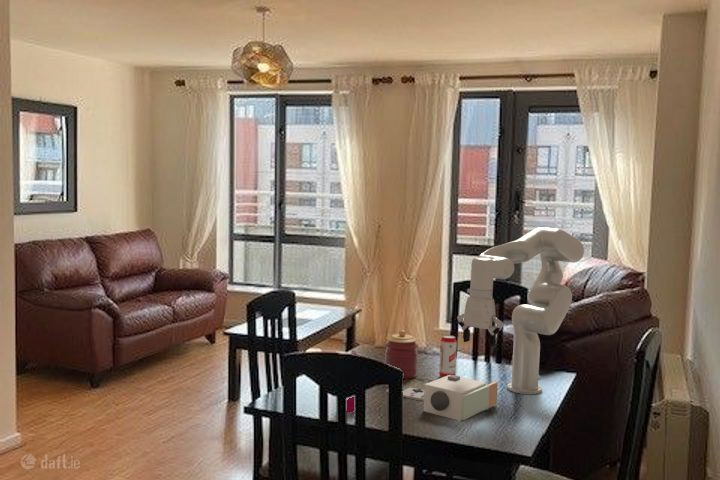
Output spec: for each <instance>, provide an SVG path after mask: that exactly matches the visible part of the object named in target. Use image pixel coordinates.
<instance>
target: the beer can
mask: <svg viewBox="0 0 720 480" xmlns="http://www.w3.org/2000/svg"><path fill="white" fill-rule="evenodd" d="M456 339H457V338H456V336H455V335H451V334H450V335H448V334H444V335H442V336H441V339H440V344H439V345H440V346H439V347H440V348H439V350H440V351H439V367H438V368H439V371H438V375H439V376H440V378H443V377H445V376H448V375H456V368H457V367H456V366H457V365H456V364H457V340H456Z"/></svg>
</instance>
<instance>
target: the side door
mask: <svg viewBox="0 0 720 480" xmlns="http://www.w3.org/2000/svg"><path fill="white" fill-rule="evenodd" d="M498 386H499V383H498V381H493V382H491V383H488V384H486V386H484V387H481V388H479V389H477V390H474V391H472V392H470V393H468V394H465V395H463V396H462V410H461V419H462V421H465V420H467V419H469V418H471V417H473V416H475V415H477V414H479V413H481V412H483V411H485V410H487V409H489V408H492V407H494V406H495V405H497V404H498Z"/></svg>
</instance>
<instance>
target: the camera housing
mask: <svg viewBox="0 0 720 480" xmlns="http://www.w3.org/2000/svg"><path fill="white" fill-rule="evenodd" d="M486 385H487V382H484V381H479V380H475V379H471V378H465V377H461V376H459V375H456V374H455V375H448V376H445V377H443V378H442V377H440V378H438V379H437V378H436V379H434V380H432V381H429V382H427V383H424V389H423V390H424V401H423V412H426V413H428V414H429V413H430V414H433V415H437V416H440V417H444V418H449V419H451V420H456V421H459V422H461V421H463V420H462V419H461V410H462V396H463V395H465V394H468V393H470V392H472V391H474V390H477V389H479V388H481V387H484V386H486Z"/></svg>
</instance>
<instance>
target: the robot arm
mask: <svg viewBox="0 0 720 480" xmlns="http://www.w3.org/2000/svg"><path fill="white" fill-rule="evenodd" d="M584 254H585V248H584V245H583V243H582V241H580V240H579V239H578V238H576V237H574V235H572V234H570V233H568V232H567V231H565V230H563V229H561V228H552V227H543V226H542V227H535V228H533V229H531V230H530V231H528V232H526V233H525V234H523V235H522V236H521V237H519V238H517V239H516V240H513V241H509V242H506V243H503V244H499V245H496V246H493V247H490V248H488V249H486V250H485V251H483V252H482V253H480V254H479V255H478V256H477V257H474V258H472V260H471V265H470V268H471V270H470V287H469V288H467V289H466V293H467V294H469V296H467V299H466V301H465V302H466V303H465V306H464V313H462V314H460V315H457V316H456V318H457V321H458V324H459V326H460V328H461V330H462V339H463V343H467V342H470V341H471V340H470V338H471V329H470V328H476V329H482V330H487V331H488V332H489V336H488V347H489V348H490V347H491V348H492V347H494V346H495V344H496V342H497V334H499V332H501V331H502V328H503V326H504V324H505V323H504V321H502V320H500V319H499V318H498V317H496V304H495V299H494V298H493V291H494V290H493V289H494V279H499V280H506V279H508V278H511V277H512V275H513V274H514V272H515V264H521V263H526V262H529V261H530V260H531V259H533V258H534V257H537V255H540V256H539V257H540V262H541V269H540V272H539V274H538V275H537V277H536V279H535V281H534V282H533V285H532V287H531V288H530V290H529V291H528V292H529V293H528V294H527V295H528V296H527V299H528V302H529V303H530V304H525V303H524V304H519V305H517V306H515V307H514V309H513V310H512V313H511V323H512V329H513V344H512V345H513V348H512V366H511V382H510V383H508V384H506V388H507V390H508V391H511V392H513V393H517V394H523V395H538V394H541V393H542V392H543V387H542V386H540V385H539V381H540V380H541V379H542V377H541V375H540V374H539V372H540V356H541V355H540V352H541V342H540V337H539V334H540V335H545V336H551V335H554V334H556V332H557V331H558V330H559V328H560V327H561V325H562V323H563V320H564V319H565V318H566V315H567V313H568V311H569V310H570V308H571V305H572V301H573V294H572V291H571V289H570V288H569V286H567V285H564V284H561V283H562V281H563V278H564V274H563V271H562V268H561V266H560V262H565V263H578V262H580V261H581V260H582V258H583V257H584ZM496 324H497V326H496ZM495 326H496V327H495Z"/></svg>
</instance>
